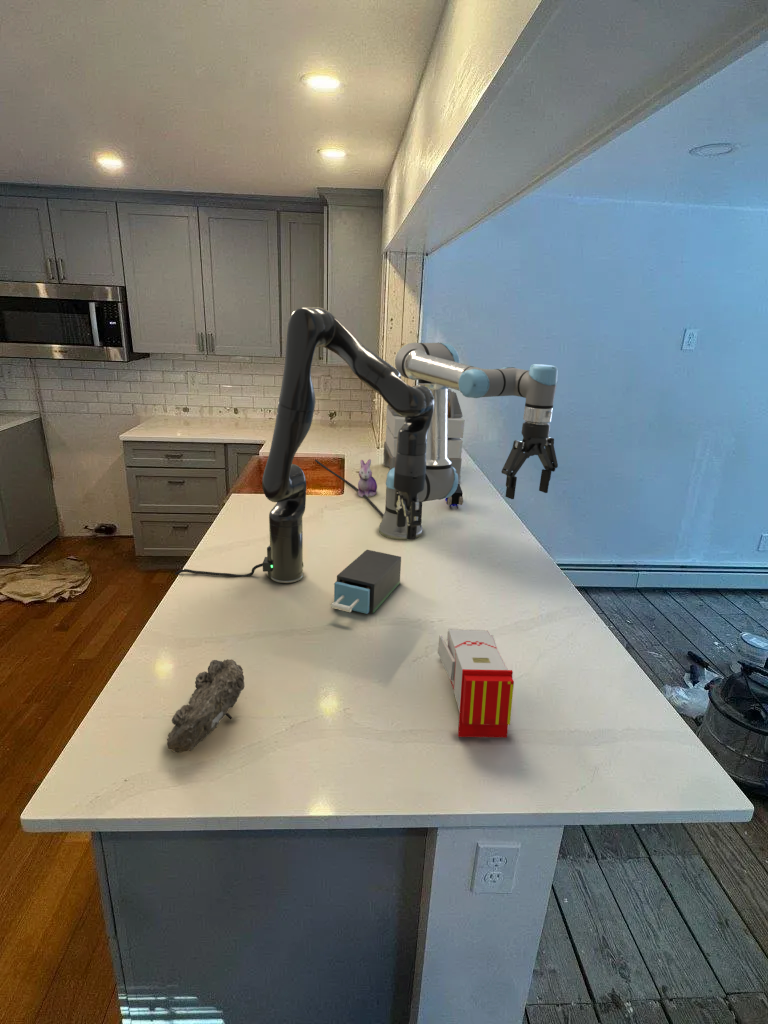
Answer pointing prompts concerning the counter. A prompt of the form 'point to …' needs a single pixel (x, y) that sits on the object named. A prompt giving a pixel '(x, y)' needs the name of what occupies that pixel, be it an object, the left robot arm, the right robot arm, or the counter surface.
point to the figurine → (366, 480)
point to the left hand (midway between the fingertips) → (405, 532)
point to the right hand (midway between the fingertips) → (526, 494)
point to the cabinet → (374, 575)
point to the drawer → (351, 597)
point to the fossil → (206, 705)
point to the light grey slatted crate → (453, 434)
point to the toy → (478, 682)
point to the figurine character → (455, 498)
